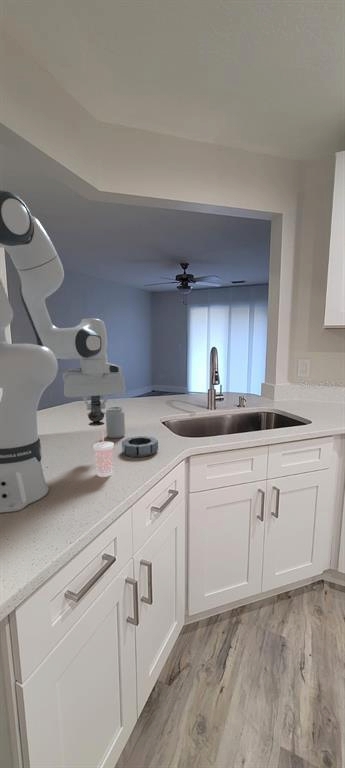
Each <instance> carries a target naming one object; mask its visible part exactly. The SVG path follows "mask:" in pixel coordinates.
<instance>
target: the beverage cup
mask: <svg viewBox="0 0 345 768" xmlns="http://www.w3.org/2000/svg"><path fill="white" fill-rule="evenodd" d="M101 436H102V437H101V439H102V441H99V442H96V443H94V444H93V445H92V449H93V451H94V460H95V468H96V475H97V477H100V478H107V477H109V476H112V475H113V474H114V470H113V467H114V460H113V459H114V448H115V443H114V442H113V441H105V433H104V427H101Z"/></svg>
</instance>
